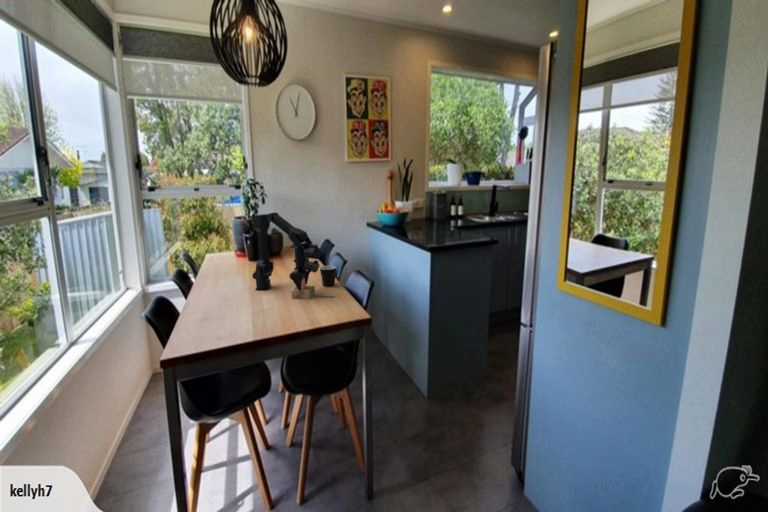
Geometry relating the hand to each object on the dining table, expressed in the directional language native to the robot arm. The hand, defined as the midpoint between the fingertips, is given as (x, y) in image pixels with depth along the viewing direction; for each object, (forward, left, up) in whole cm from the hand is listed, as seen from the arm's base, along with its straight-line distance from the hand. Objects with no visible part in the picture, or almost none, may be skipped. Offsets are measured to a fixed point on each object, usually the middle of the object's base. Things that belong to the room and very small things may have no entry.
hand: (303, 287), depth 184 cm
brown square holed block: (0, 0, -4) cm, 4 cm away
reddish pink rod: (0, 0, -4) cm, 5 cm away
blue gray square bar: (+11, -1, -4) cm, 11 cm away
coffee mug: (+9, +19, -5) cm, 21 cm away
